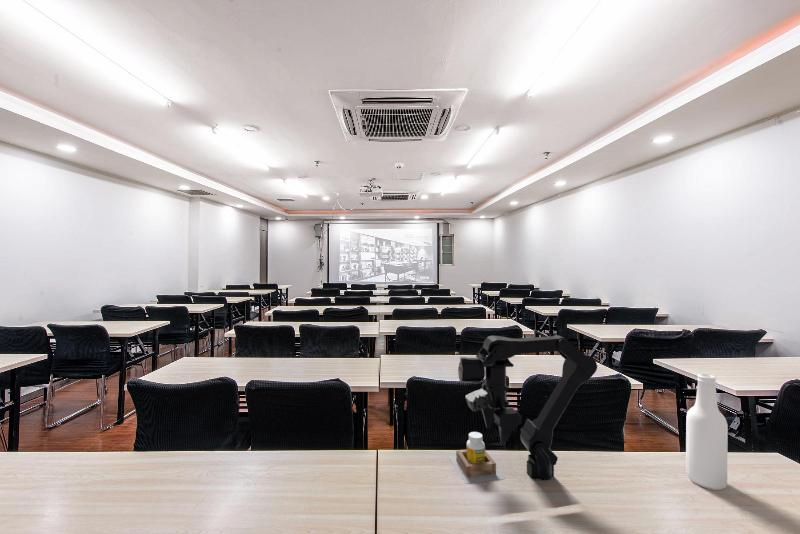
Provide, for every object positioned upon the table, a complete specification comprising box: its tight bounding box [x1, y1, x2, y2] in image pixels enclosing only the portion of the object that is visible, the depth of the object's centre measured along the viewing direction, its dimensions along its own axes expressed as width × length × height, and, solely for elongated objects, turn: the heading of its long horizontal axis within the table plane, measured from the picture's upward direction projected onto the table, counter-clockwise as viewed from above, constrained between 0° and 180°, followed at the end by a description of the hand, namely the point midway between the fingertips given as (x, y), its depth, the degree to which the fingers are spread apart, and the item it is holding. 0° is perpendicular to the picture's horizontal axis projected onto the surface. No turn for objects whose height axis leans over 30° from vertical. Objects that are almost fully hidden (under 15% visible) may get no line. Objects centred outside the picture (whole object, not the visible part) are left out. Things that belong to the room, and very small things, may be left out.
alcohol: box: [685, 373, 729, 491], centre depth 99 cm, size 9×9×30 cm
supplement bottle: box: [466, 431, 486, 464], centre depth 105 cm, size 5×5×10 cm
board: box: [448, 454, 506, 485], centre depth 105 cm, size 12×14×1 cm
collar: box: [455, 448, 497, 477], centre depth 105 cm, size 9×9×3 cm
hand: (495, 435), depth 101 cm, fingers open, 9 cm apart
